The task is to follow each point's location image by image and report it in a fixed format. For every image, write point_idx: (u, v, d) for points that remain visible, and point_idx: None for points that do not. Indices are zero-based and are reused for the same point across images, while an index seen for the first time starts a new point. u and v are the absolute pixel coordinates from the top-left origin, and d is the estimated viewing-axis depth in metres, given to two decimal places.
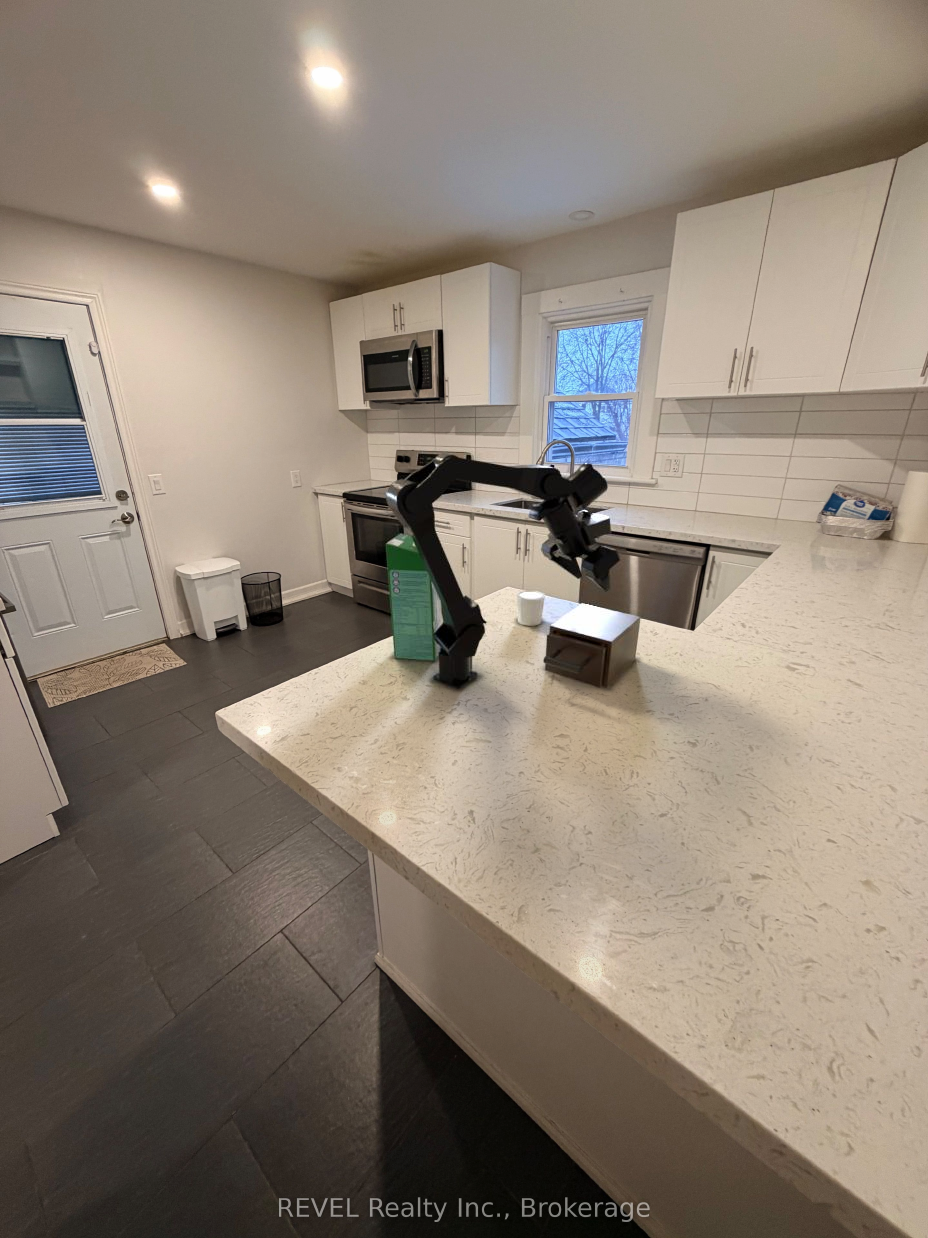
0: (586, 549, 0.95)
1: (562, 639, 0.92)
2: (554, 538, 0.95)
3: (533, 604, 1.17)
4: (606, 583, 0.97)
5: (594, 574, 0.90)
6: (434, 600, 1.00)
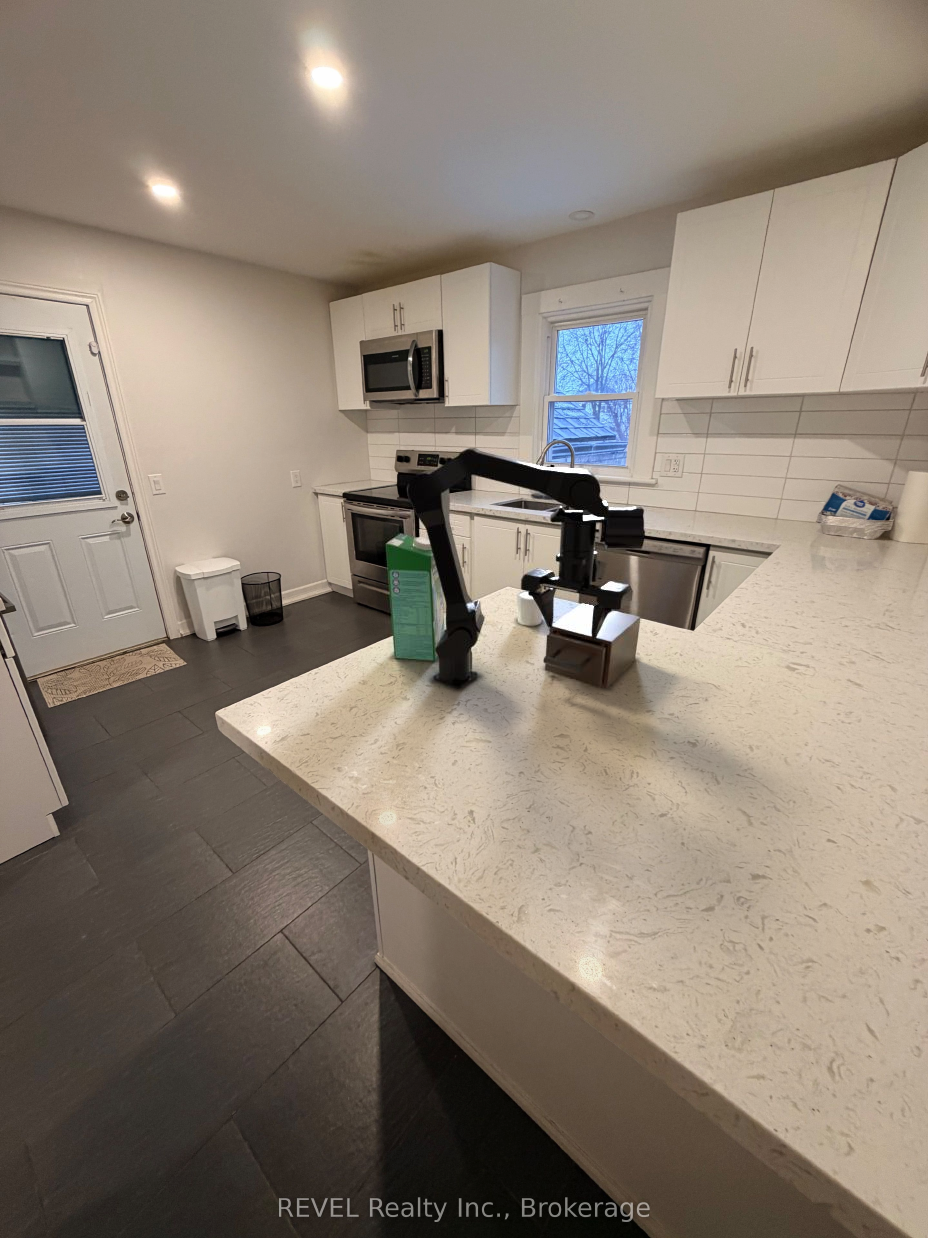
0: (591, 583, 0.85)
1: (562, 639, 0.92)
2: (567, 559, 0.82)
3: (533, 604, 1.17)
4: (599, 627, 0.85)
5: (616, 603, 0.79)
6: (434, 600, 1.00)
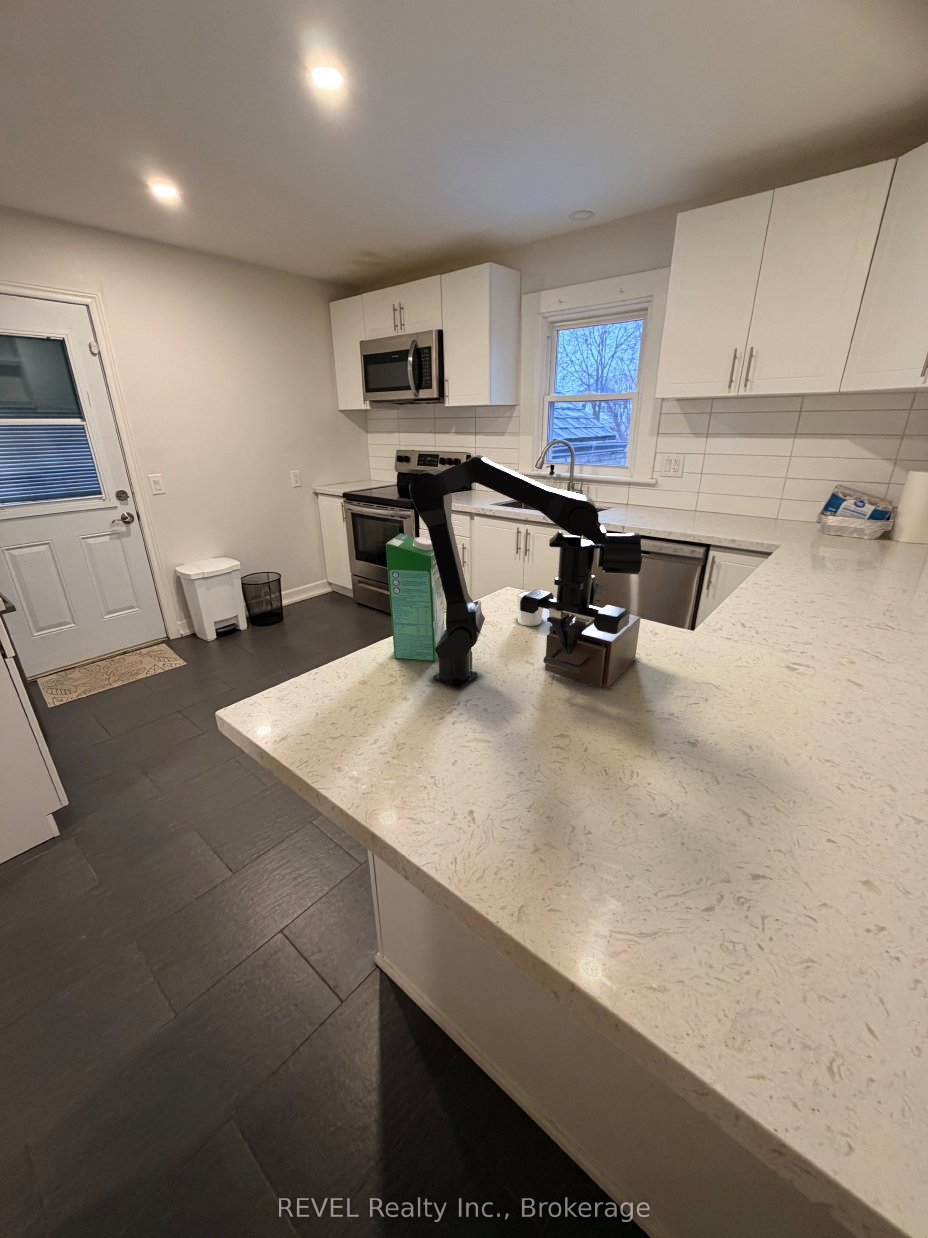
0: None
1: None
2: (565, 583, 0.83)
3: None
4: (575, 644, 0.89)
5: (613, 628, 0.80)
6: (434, 600, 1.00)
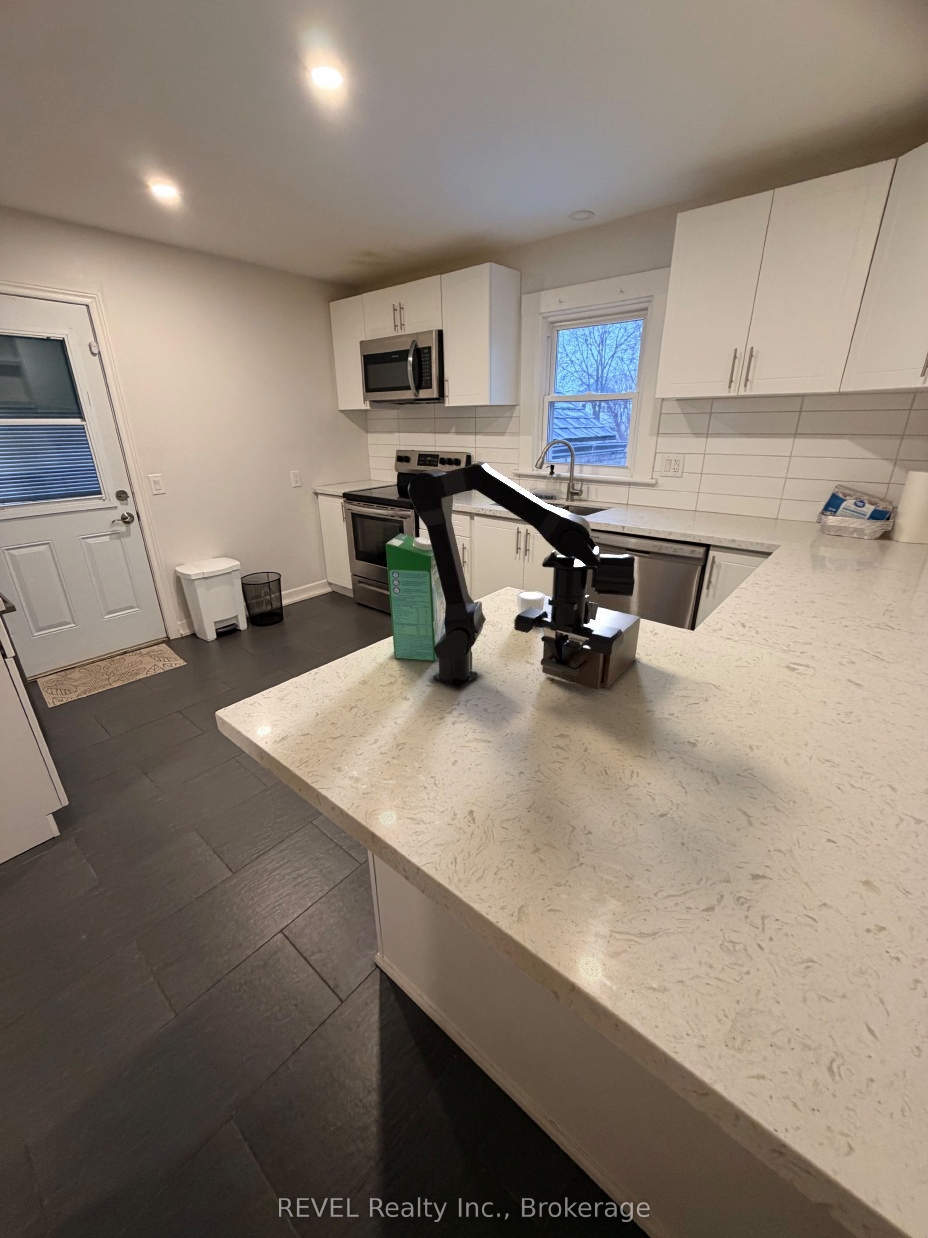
0: (583, 626, 0.86)
1: None
2: (559, 603, 0.83)
3: (533, 604, 1.17)
4: (569, 663, 0.89)
5: (607, 649, 0.80)
6: (434, 600, 1.00)
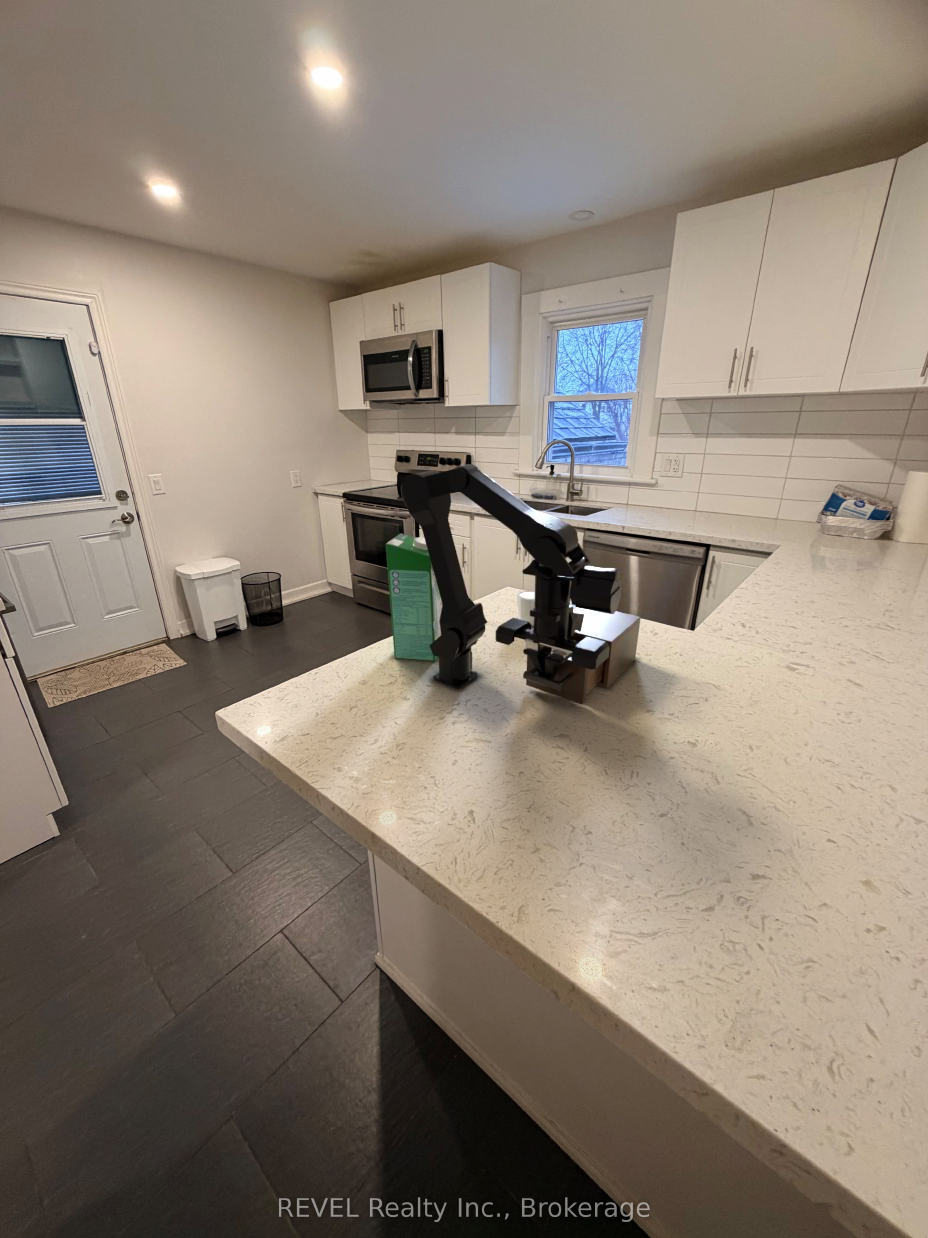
0: (567, 638, 0.81)
1: None
2: (541, 615, 0.79)
3: (533, 604, 1.17)
4: (553, 676, 0.85)
5: (591, 663, 0.76)
6: (434, 600, 1.00)
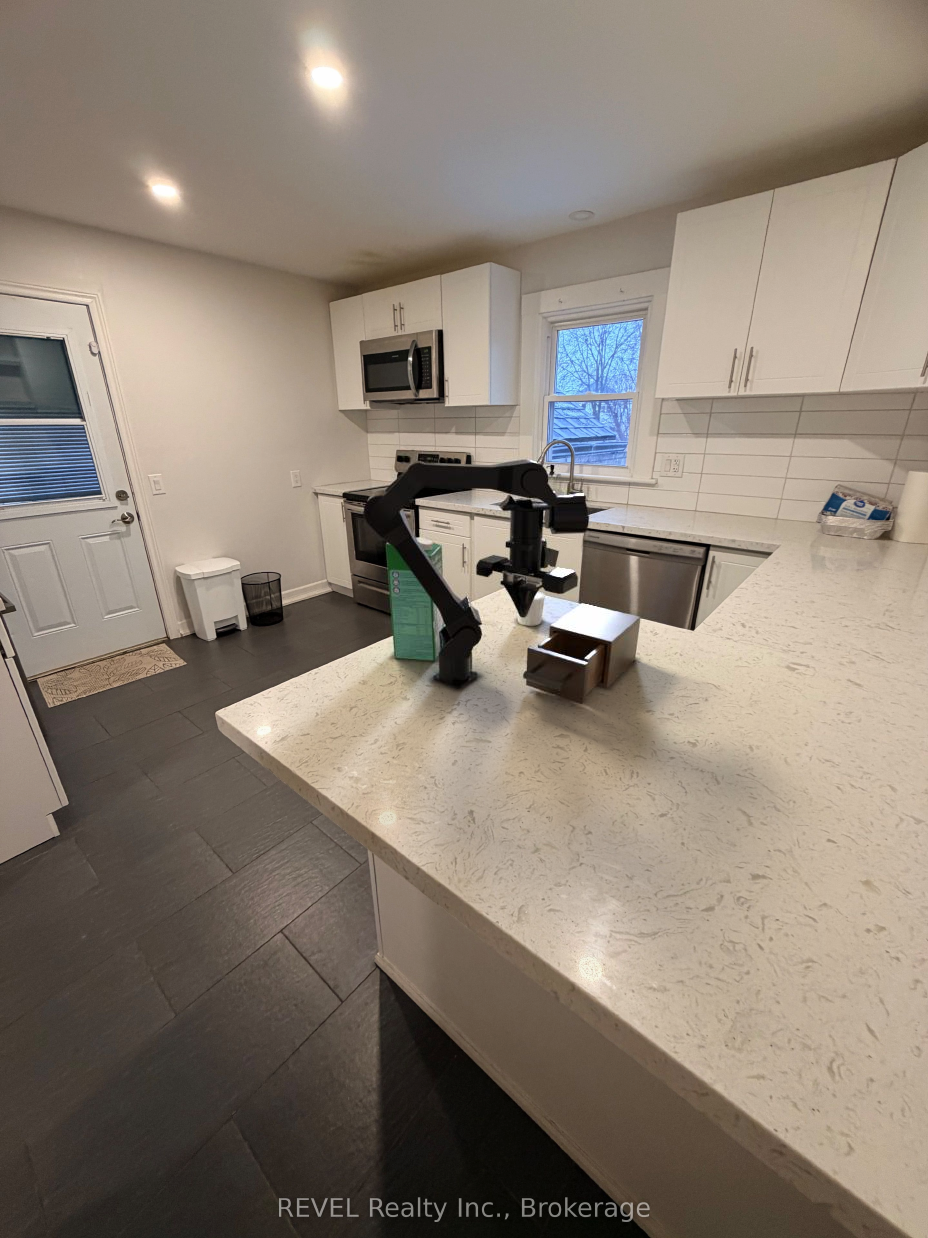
0: (540, 569, 0.88)
1: (543, 653, 0.87)
2: (515, 545, 0.86)
3: (533, 604, 1.17)
4: (528, 607, 0.92)
5: (559, 588, 0.83)
6: None
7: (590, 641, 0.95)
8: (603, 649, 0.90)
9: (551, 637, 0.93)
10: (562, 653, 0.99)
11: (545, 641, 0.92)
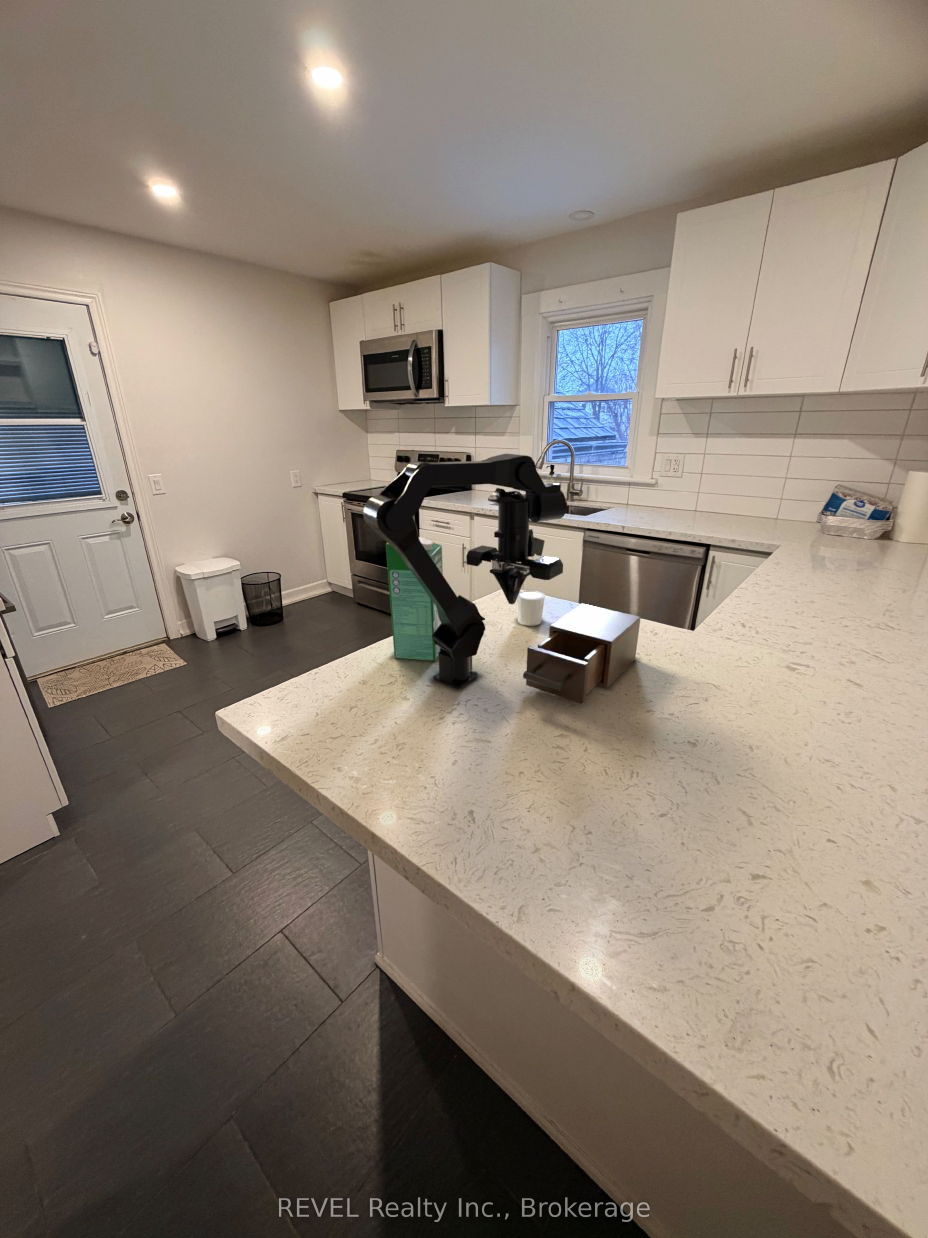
0: (527, 558, 0.93)
1: (543, 653, 0.87)
2: (503, 535, 0.90)
3: (533, 604, 1.17)
4: (516, 594, 0.96)
5: (545, 574, 0.87)
6: None
7: (590, 641, 0.95)
8: (603, 649, 0.90)
9: (551, 637, 0.93)
10: (562, 653, 0.99)
11: (545, 641, 0.92)
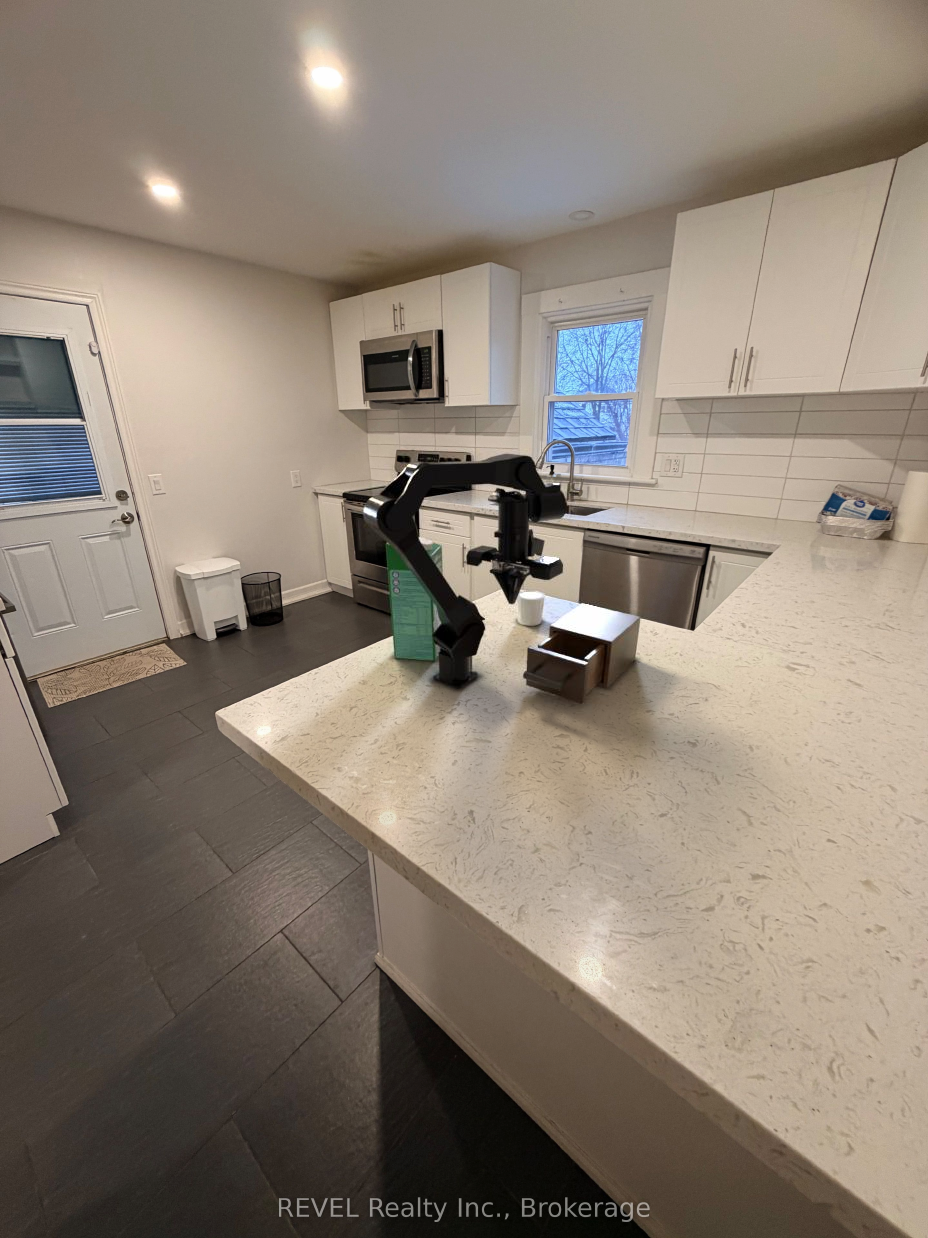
0: (527, 558, 0.93)
1: (543, 653, 0.87)
2: (503, 535, 0.90)
3: (533, 604, 1.17)
4: (516, 594, 0.96)
5: (545, 574, 0.87)
6: None
7: (590, 641, 0.95)
8: (603, 649, 0.90)
9: (551, 637, 0.93)
10: (562, 653, 0.99)
11: (545, 641, 0.92)
